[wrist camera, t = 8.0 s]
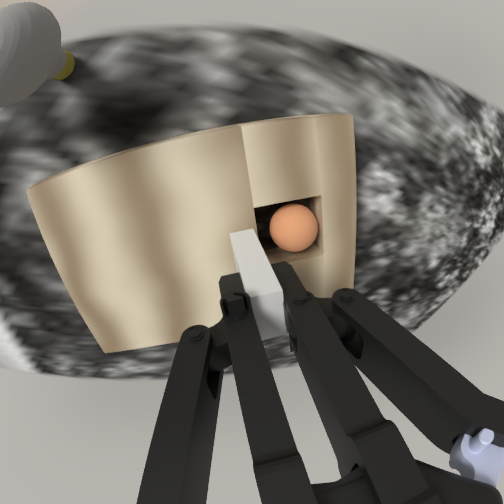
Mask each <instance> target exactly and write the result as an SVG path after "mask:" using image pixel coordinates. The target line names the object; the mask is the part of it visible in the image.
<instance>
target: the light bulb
mask: <svg viewBox="0 0 504 504" xmlns="http://www.w3.org/2000/svg"><path fill="white" fill-rule="evenodd" d="M74 66H75V59H74V56H73V55H72V54H71V53H70V52H68V51H66V50H64V49H63V48H62V47H61V30H60V26H59V23H58V21H57V20H56V18H55V17H54V15H53V14H52V12H51V11H50V10H49V9H47V8H45V7H43V6H41V5H39V4H37V3H32V2H24V3H16V4H12V5H9V6H7V7H4V8H2V9H0V108H2V107H8V106H11V105H13V104H15V103H17V102H20V101H22V100H24V99H25V98H27V97H28V96H30V95H31V94H32V93H34V92H35V91H36V90H37V89H38V88H39V87H40V86H41V85H42V83H43V82H44V81H45V80H49V79H55V80H63V79H65V78H66V77H68V76H69V75H70V74H71V72H72V71H73V69H74Z"/></svg>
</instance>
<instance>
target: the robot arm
mask: <svg viewBox="0 0 504 504" xmlns="http://www.w3.org/2000/svg"><path fill="white" fill-rule="evenodd" d="M229 235H230V240H231V245H232V249H233V254H234V259H235V264H236V269H237V273H233V274H229V275H224V276H221V278H220V280H219V282H218V283H219V289H220V294H221V299H220V307H221V311H222V314H223V317H222V319H221V320H220V321H219V322H218V323H217V324H215V325H214V326H212V327H210V328H208V327H206V326H204V325H193V326H191V327H188V328H187V329H186V330H185V331H183V333H182V335H181V338H180V341H179V344H178V347H177V351H176V354H175V357H174V361H173V364H172V368H171V371H170V374H169V378H168V381H167V385H166V389H165V392H164V396H163V399H162V403H161V406H160V410H159V414H158V417H157V421H156V425H155V429H154V433H153V437H152V441H151V444H150V448H149V452H148V456H147V460H146V465H145V469H144V473H143V477H142V481H141V486H140V490H139V495H138V499H137V504H206V500H207V492H208V484H209V476H210V468H211V460H212V453H213V446H214V438H215V431H216V423H217V416H218V408H219V402H220V394H221V387H222V380H223V373H224V370H223V369H225V368H227V367H229V366H231V365H232V366H233V371H234V376H235V381H236V386H237V391H238V395H239V401H240V405H241V410H242V415H243V419H244V423H245V428H246V433H247V437H248V442H249V445H250V450H251V455H252V458H253V468H254V473H255V478H256V482H257V486H258V490H259V494H260V498H261V502H262V504H503V501H502V497H501V494H500V492H499V491H498V490H497V489H496V488H495V487H496V485H497V482H498V480H499V478H500V475H501V472H502V470H503V467H504V401H502V400H499V399H497V398H494V397H491V396H489V395H486V394H484V393H482V392H481V391H480V390H479V389H478V388H477V387H475V386H474V385H473V384H472V383H471V382H469V381H468V380H467V379H466V378H465V377H464V376H462V375H461V374H460V373H459V372H458V371H457V370H455V369H454V368H453V367H451V365H449V364H448V363H447V362H446V361H445V360H443V359H442V358H441V357H440V356H439V355H437V354H436V353H435V352H434V351H432V350H431V349H430V348H429V347H428V346H426V345H425V344H424V343H422V342H421V341H420V340H419V339H417V338H416V337H415V336H414V335H413V334H411V333H410V332H409V331H408V330H406V329H405V328H404V327H403V326H401V325H400V324H399V323H398V322H396V321H395V320H394V319H393V318H391V317H390V316H389V315H387V314H386V313H385V312H384V311H382V310H381V309H380V308H378V307H377V306H376V305H375V304H373V303H372V302H371V301H369V300H368V299H367V298H366V297H364V296H363V295H362V294H360V293H359V292H358V291H356V290H354V289H351V288H341V289H338V290H337V291H335V292H334V293H333V295H332V298H318V297H315V296H314V295H313V294H312V293H311V292H309V291H306V289H305V287H304V286H303V284H302V282H301V281H300V279H299V277H298V276H297V274H296V272H295V271H294V269H293V267H292V265H291V264H289V263H287V262H286V261H283V262H278V263H274V264H270V263H269V260H268V258H267V256H266V254H265V252H264V250H263V248H262V246H261V244H260V242H259V240H258V238H257V235H256V233H255V231H254V229H248V230H243V231H239V232H234V233H230V234H229ZM286 328H287V329H286ZM287 330H288V332H289V338H290V350H291V352H292V351H294V353H295V356H296V358H297V361H298V363H299V366H300V368H301V371H302V373H303V375H304V378H305V380H306V383H307V385H308V388H309V390H310V393H311V395H312V398H313V400H314V403H315V405H316V408H317V410H318V413H319V415H320V418H321V420H322V423H323V425H324V428H325V430H326V433H327V435H328V438H329V440H330V442H331V445H332V448H333V450H334V453H335V455H336V457H337V461H338V468H339V472H340V475H341V479H340V480H338V481H336V482H330V483H321V484H310V481H309V478H308V475H307V472H306V469H305V466H304V463H303V461H302V458H301V456H300V454H299V452H298V450H297V448H296V444H295V442H294V439H293V435H292V432H291V429H290V426H289V423H288V420H287V417H286V414H285V411H284V408H283V405H282V402H281V399H280V396H279V393H278V390H277V387H276V383H275V381H274V377H273V374H272V371H271V368H270V364H269V361H268V358H267V355H266V352H265V349H264V345H263V342H262V340H265V339H269V338H273V337H277V336H281V335H285V334H287ZM355 366H356V367H357V368H358V369H359V370H360V371H361V372H362V373H363V374H365V376H366V377H367V378H368V379H369V380H370V381H371V382H372V383H373V384H374V385H375V386H376V387H377V388H378V389H379V390H380V391H381V392H382V393H383V394H384V395H385V396H386V397H387V398H388V399H389V400H390V401H391V402H392V403H393V404H394V405H395V406H396V407H397V408H398V409H399V410H400V411H401V412H402V413H403V414H404V415H405V416H406V417H407V418H408V419H409V420H410V421H411V422H412V423H413V424H414V425H415V426H416V427H417V428H418V429H419V430H420V431H421V432H422V433H423V434H424V435H425V436H426V437H427V438H428V439H429V440H430V441H431V442H432V443H433V444H434V445H436V446H437V447H438V448H440V449H441V450H443V451H444V452H446V453H448V454H450V461H449V465H450V467H451V468H453V469H456V470H458V471H459V472H460V474H461V476H460V475H457V474H454V473H451V472H448V471H445V470H442V469H440V468H437V467H434V466H432V465H429V464H426V463H424V462H421V461H419V460H415V459H414V458H413V456H412V454H411V452H410V450H409V448H408V446H407V445H406V443H405V441H404V439H403V437H402V435H401V433H400V432H399V430H398V428H397V426H396V425H395V424H394V423H393V422H392V421H391V420H386V419H385V418H384V417H383V415H382V414H381V412H380V410H379V408H378V406H377V405H376V403H375V401H374V399H373V397H372V395H371V394H370V392H369V390H368V388H367V386H366V385H365V383H364V381H363V379H362V378H361V376H360V374H359V372H358V370H357V369H356V367H355Z"/></svg>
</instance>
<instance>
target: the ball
mask: <svg viewBox="0 0 504 504" xmlns="http://www.w3.org/2000/svg"><path fill="white" fill-rule="evenodd" d="M317 232H318V224H317V220H316V217H315V216H314V214H313V213H312V211H311V210H309V209H308V208H307V207H305V206H303V205H300V204H287V205H284V206H282V207H281V208H279V209H278V210H277V211H276V212H275V213H274V215H273V216H272V219H271V222H270V234H271V237H272V239H273V241H274V242H275V243H276V244H277V245H278V246H279V247H280V248H282V249H283V250H286V251H290V252H298V251H302V250H304V249H306V248H308V247H309V246H310V245H311V244H312V243H313V242H314V240H315V238H316V236H317Z"/></svg>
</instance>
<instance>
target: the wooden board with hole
mask: <svg viewBox="0 0 504 504" xmlns="http://www.w3.org/2000/svg"><path fill="white" fill-rule="evenodd" d="M26 192H27V195H28V198H29V201H30V204H31V207H32V210H33V213H34V216H35V218H36V221H37V224H38V226H39V229H40V231H41V234H42V236H43V239H44V241H45V243H46V246H47V248H48V250H49V253H50V255H51V257H52V259H53V261H54V264H55V266H56V268H57V270H58V272H59V274H60V276H61V278H62V280H63V282H64V284H65V286H66V288H67V290H68V292H69V294H70V296H71V298H72V299H73V301H74V303H75V305H76V307H77V309H78V310H79V312H80V314H81V316H82V317H83V319H84V321H85V322H86V324H87V326H88V327H89V329H90V331H91V332H92V334H93V336H94V337H95V339H96V340H97V342H98V343H99V345H100V347H101V348H102V350H103V351H104V353H110V352H117V351H125V350H131V349H138V348H144V347H151V346H157V345H163V344H168V343H174V342H179V341H180V338H181V335H182V333H183V331H185V330H186V329H187V328H188V327H191V326H193V325H204V326H206V327H208V328H210V327H212V326H214V325H215V324H217V323H218V322H219V321H220V320H221V319H222V317H223V314H222V311H221V307H220V299H221V294H220V289H219V283H218V282H219V280H220V278H221V276H224V275H229V274H233V273H237V269H236V264H235V259H234V254H233V249H232V245H231V240H230V235H229V234H230V233H234V232H239V231H243V230H248V229H254V231H255V233H256V235H257V238H258V233H257V226H256V220H255V213H254V208H256V207H261V206H266V205H271V204H276V203H281V202H287V201H292V200H297V199H303V198H308V197H309V205H310V210H311V211H312V213H313V214H314V216H315V217H316V220H317V224H318V232H317V236H316V238H315V240H314V242H313V243H312V244H311V245H310V246H309V247H308V248H306V249H304V250H302V251H298V252H290V251H286V250H283V249H282V248H280V247H277V248H273V249H268V250H264V252H265V254H266V256H267V258H268V260H269V263H270V264H274V263H278V262H283V261H286V262H287V263H289V264H291V265H292V267H293V269H294V271H295V272H296V274H297V276H298V277H299V279H300V281H301V282H302V284H303V286H304V287H305V289H306V291H309V292H311V293H312V294H313V295H314V296H315V297H318V298H332V295H333V293H334V292H335V291H337V290H338V289H341V288H351V289H353V284H354V268H355V248H356V159H355V140H354V125H353V115H348V114H339V113H330V114H315V115H303V116H293V117H284V118H275V119H267V120H260V121H253V122H247V123H240V124H234V125H229V126H223V127H218V128H212V129H207V130H202V131H198V132H193V133H188V134H184V135H180V136H175V137H171V138H167V139H163V140H159V141H156V142H152V143H148V144H144V145H141V146H137V147H134V148H130V149H127V150H124V151H121V152H117V153H114V154H111V155H108V156H105V157H102V158H99V159H96V160H93V161H90V162H87V163H85V164H82V165H79V166H76V167H74V168H71V169H69V170H66V171H63V172H61V173H58V174H56V175H53V176H51V177H49V178H46V179H44V180H42V181H40V182H38V183H37V184H35V185H33V186H32V187H30V188H29V189H27V190H26ZM258 240H259V239H258Z"/></svg>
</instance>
